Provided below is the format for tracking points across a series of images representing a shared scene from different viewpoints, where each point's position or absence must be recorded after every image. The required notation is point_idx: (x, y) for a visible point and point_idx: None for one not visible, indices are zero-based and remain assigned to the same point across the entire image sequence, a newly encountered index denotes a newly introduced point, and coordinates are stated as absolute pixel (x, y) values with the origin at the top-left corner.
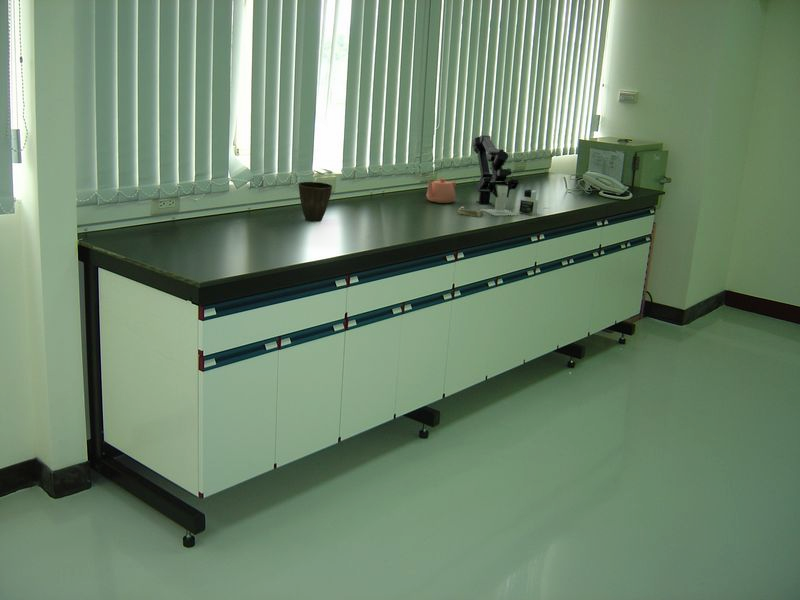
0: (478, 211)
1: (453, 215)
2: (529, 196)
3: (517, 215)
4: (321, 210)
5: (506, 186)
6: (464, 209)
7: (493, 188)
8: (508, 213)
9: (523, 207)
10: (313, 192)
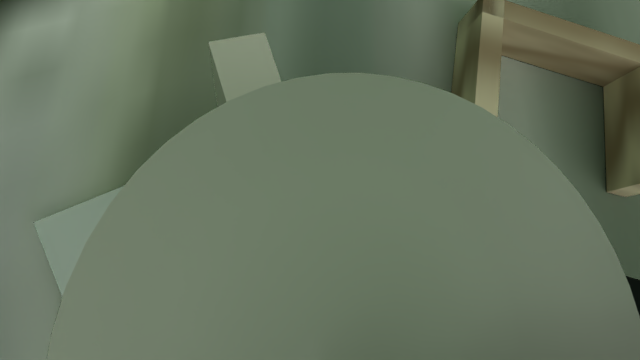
0: (496, 4)
1: (629, 18)
2: None
3: (53, 217)
4: None
5: (158, 333)
6: (616, 53)
7: (632, 289)
8: None
9: None
10: None
